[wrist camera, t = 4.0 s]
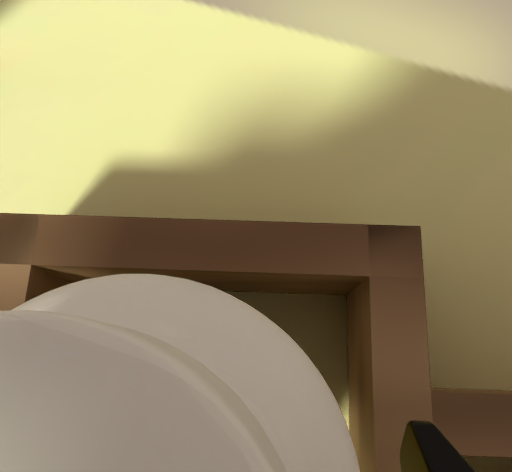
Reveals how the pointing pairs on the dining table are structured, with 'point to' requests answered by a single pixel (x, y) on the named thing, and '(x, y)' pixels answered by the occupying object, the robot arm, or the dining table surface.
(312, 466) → the supplement bottle
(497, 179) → the dining table surface
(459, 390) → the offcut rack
